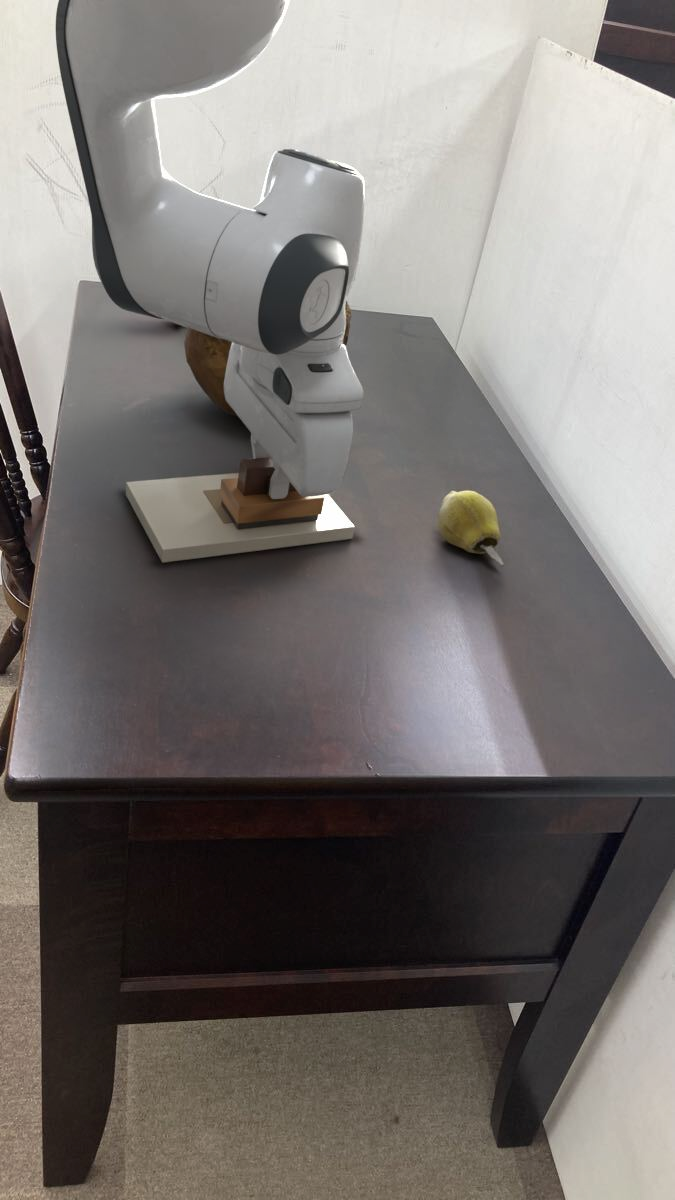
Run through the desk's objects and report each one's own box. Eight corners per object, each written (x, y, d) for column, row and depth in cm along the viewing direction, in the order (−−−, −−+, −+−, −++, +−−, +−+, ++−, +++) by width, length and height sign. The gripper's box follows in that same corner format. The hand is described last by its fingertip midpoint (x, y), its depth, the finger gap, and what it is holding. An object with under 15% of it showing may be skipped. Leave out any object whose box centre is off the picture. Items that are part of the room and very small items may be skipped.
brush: (236, 531, 85) (243, 478, 82) (218, 503, 89) (224, 451, 85) (320, 521, 89) (330, 471, 86) (299, 495, 93) (308, 445, 89)
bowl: (339, 397, 118) (361, 284, 109) (323, 462, 103) (347, 338, 94) (199, 367, 117) (210, 252, 108) (163, 429, 102) (172, 300, 93)
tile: (162, 563, 82) (163, 548, 81) (125, 494, 90) (126, 481, 89) (352, 539, 91) (355, 525, 90) (303, 478, 99) (306, 466, 98)
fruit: (477, 581, 89) (414, 519, 93) (508, 579, 93) (446, 519, 98) (510, 536, 86) (443, 474, 91) (540, 535, 91) (475, 477, 95)
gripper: (215, 306, 84) (202, 437, 92) (305, 404, 71) (280, 548, 79) (276, 307, 87) (258, 434, 95) (374, 401, 74) (343, 540, 82)
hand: (269, 486), depth 87 cm, fingers closed on brush
